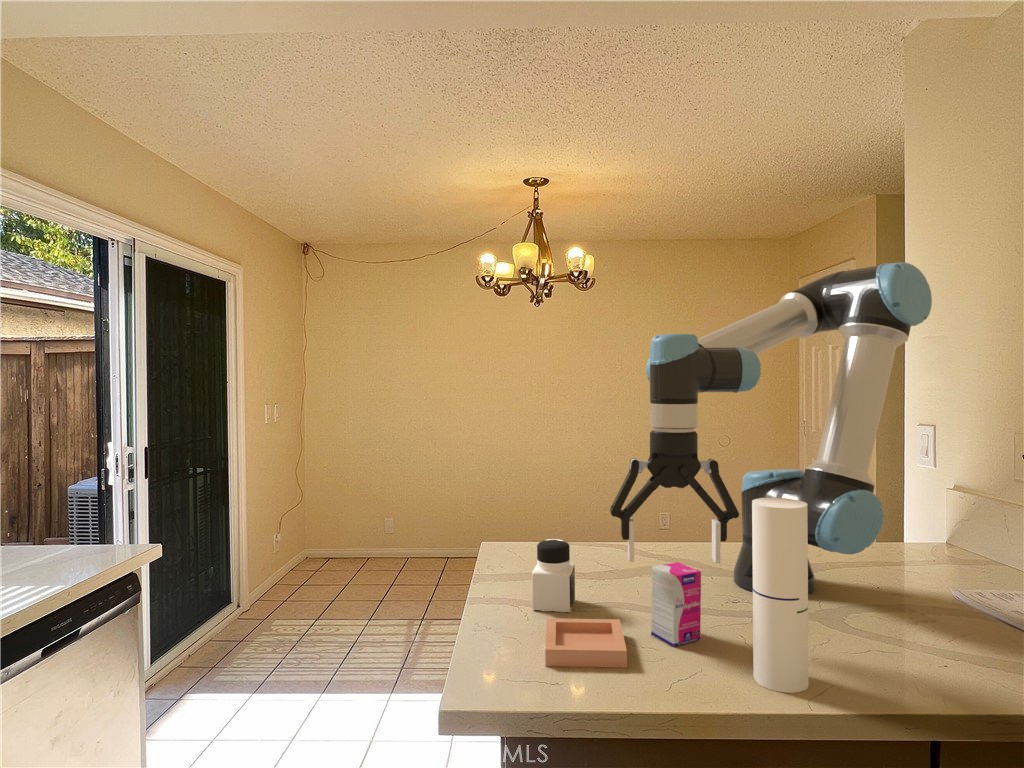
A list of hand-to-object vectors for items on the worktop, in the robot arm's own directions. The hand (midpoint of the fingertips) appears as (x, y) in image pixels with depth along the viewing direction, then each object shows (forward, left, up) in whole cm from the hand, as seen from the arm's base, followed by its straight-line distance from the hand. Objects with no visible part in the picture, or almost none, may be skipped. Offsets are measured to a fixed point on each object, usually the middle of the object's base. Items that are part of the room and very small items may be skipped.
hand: (673, 560), depth 106 cm
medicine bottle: (+20, -14, -13) cm, 28 cm away
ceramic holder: (+15, +5, -13) cm, 20 cm away
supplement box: (0, 0, -13) cm, 13 cm away
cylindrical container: (-12, +14, -13) cm, 23 cm away
